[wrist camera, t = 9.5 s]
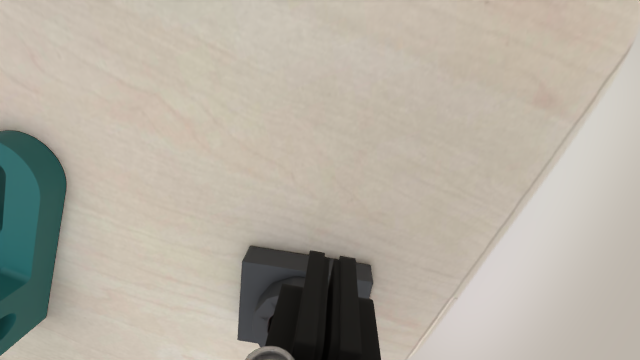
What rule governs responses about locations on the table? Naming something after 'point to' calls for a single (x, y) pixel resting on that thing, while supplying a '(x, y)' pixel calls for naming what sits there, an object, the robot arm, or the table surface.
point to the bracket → (27, 232)
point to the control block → (276, 287)
